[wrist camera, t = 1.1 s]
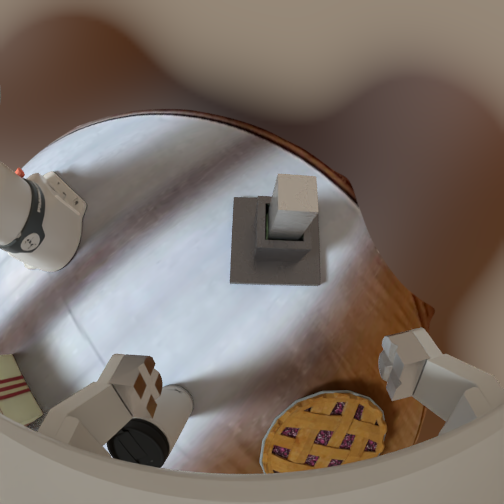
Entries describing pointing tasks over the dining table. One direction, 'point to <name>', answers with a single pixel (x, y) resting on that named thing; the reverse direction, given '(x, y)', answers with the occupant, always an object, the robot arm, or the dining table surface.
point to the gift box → (16, 393)
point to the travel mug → (154, 430)
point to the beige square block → (291, 207)
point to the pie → (324, 433)
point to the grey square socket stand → (270, 249)
